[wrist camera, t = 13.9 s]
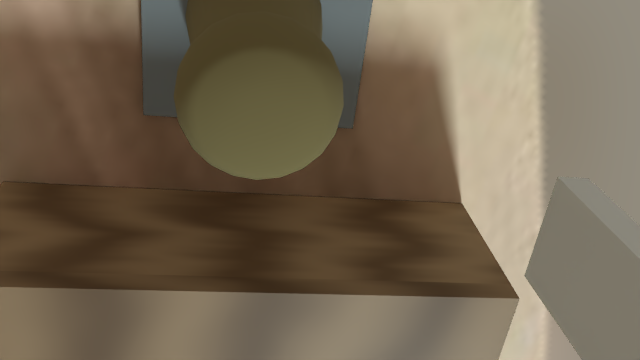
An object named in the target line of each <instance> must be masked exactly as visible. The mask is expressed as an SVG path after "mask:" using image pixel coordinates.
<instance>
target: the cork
mask: <svg viewBox="0 0 640 360" xmlns="http://www.w3.org/2000/svg"><path fill="white" fill-rule="evenodd" d="M185 17H186V23H187V29H188V36H189V41H190V47H189V48H188V50H187V52H186V54H185V56H184V57H183V59H182V61H181V63H180V65H179V68H178V71H177V77H176V84H175V90H174V102H175V107H176V112H177V118H178V122H179V124H180V127H181V129H182V130H183V132H184V134H185V136H186V138H187V139H188V141H189V143H190V145H191V146H192V148H193V149H194V150H195V151H196V152H197V153H198V154H199V155H200V156H201V157H202V158H204V159H205V160H206V161H207V162H208V163H209V164H210V165H212V166H214V167H216V168H218V169H220V170H222V171H224V172H226V173H228V174H230V175H232V176H237V177H243V178H249V179H254V180H260V179H270V178H280V177H283V176H286V175H288V174H291V173H293V172H296V171H298V170H301V169H303V168H304V167H306V166H307V165H308V164H310V163H311V162H312V161H313V160H315V159H316V158H317V157H319V156H320V155H321V154H322V153H323V152H324V150H325V149H326V147H327V146H328V144H329V143H330V141H331V140H332V139H333V137H334V136H335V134H336V131H337V127H338V124H339V121H340V117H341V114H342V110H343V106H344V98H343V80H342V77H341V75H340V72H339V70H338V67H337V64H336V62H335V59H334V57H333V55H332V53H331V51H330V50H329V48H328V47H327V46H326V45H325V44H324V42H323V41H322V7H321V3H320V0H188V2H187V9H186V15H185Z"/></svg>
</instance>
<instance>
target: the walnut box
mask: <svg viewBox="0 0 640 360" xmlns="http://www.w3.org/2000/svg"><path fill="white" fill-rule="evenodd" d="M518 301H519V297H518V295H517V294H516V292H515V290H514V289H513V287H512V286H511V284H510V282H509V281H508V279H507V277H506V276H505V274H504V272H503V271H502V269H501V267H500V266H499V264H498V262H497V261H496V259H495V257H494V256H493V254H492V252H491V251H490V249H489V247H488V246H487V244H486V242H485V241H484V239H483V238H482V236H481V234H480V233H479V231H478V229H477V228H476V226H475V224H474V223H473V221H472V219H471V218H470V216H469V214H468V213H467V211H466V209H465V208H464V206H463V204H462V203H441V202H420V201H399V200H378V199H356V198H335V197H314V196H293V195H272V194H251V193H229V192H208V191H187V190H166V189H145V188H124V187H102V186H81V185H60V184H39V183H18V182H2V184H1V185H0V360H498V359H499V356H500V353H501V350H502V347H503V345H504V342H505V339H506V336H507V333H508V330H509V327H510V324H511V322H512V319H513V316H514V313H515V310H516V307H517V304H518Z"/></svg>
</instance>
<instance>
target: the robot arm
mask: <svg viewBox="0 0 640 360" xmlns="http://www.w3.org/2000/svg"><path fill="white" fill-rule="evenodd" d="M525 277H526V279H527V280H528V282H529V283H530V285H531V286H532V287H533V289H534V290H535V292H536V293H537V295H538V296H539V298H540V299H541V301H542V302H543V304H544V305H545V306H546V308H547V309H548V311H549V312H550V314H551V315H552V317H553V318H554V320H555V321H556V322H557V324H558V325H559V327H560V328H561V330H562V331H563V333H564V334H565V335H566V337H567V338H568V340H569V342H570V343H571V344H572V346H573V347H574V349H575V350H576V352H577V353H578V355H579V356H580V358H581V359H582V360H640V225H639V224H638V223H637V222H635V220H633V219H632V218H631V217H630V216H629V215H628V214H627V213H626V212H625V211H624V210H623V209H622V208H620V207H619V206H618V205H617V204H616V203H615V202H614V201H613V200H612V199H611V198H610V197H608V196H607V195H606V194H605V193H604V192H603V191H602V190H601V189H600V188H599V187H598V186H597V185H595V184H594V183H593V182H592V181H591V180H590V179H589V178H573V177H557V180H556V183H555V186H554V189H553V192H552V195H551V198H550V201H549V204H548V207H547V210H546V213H545V216H544V219H543V222H542V225H541V228H540V231H539V234H538V237H537V240H536V243H535V246H534V249H533V252H532V255H531V258H530V261H529V264H528V267H527V270H526V273H525Z"/></svg>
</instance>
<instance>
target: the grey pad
mask: <svg viewBox="0 0 640 360" xmlns="http://www.w3.org/2000/svg"><path fill="white" fill-rule="evenodd" d="M187 2H188V0H141V17H142V66H143V114H144V115H152V116H167V117H177V112H176V107H175V102H174V90H175V84H176V77H177V71H178V68H179V65H180V63H181V61H182V59H183V57H184V56H185V54H186V52H187V50H188V48H189V47H190V41H189V36H188V29H187V23H186V17H185V15H186V9H187ZM372 2H373V0H320V3H321V7H322V41H323V42H324V44H325V45H326V46H327V47H328V48H329V50H330V51H331V53H332V55H333V57H334V59H335V62H336V64H337V67H338V70H339V72H340V75H341V77H342V80H343V98H344V106H343V110H342V114H341V117H340V121H339V124H338V127H337V128H352V129H353V123H354V117H355V110H356V104H357V98H358V91H359V85H360V78H361V72H362V66H363V59H364V53H365V47H366V40H367V34H368V27H369V21H370V15H371V8H372Z"/></svg>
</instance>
